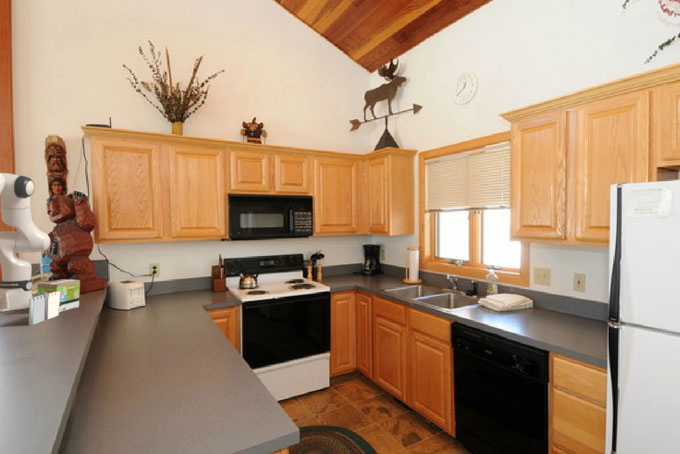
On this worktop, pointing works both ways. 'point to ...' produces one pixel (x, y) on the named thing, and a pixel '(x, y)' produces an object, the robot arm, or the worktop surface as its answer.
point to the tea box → (62, 292)
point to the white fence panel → (51, 304)
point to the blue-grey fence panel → (36, 309)
